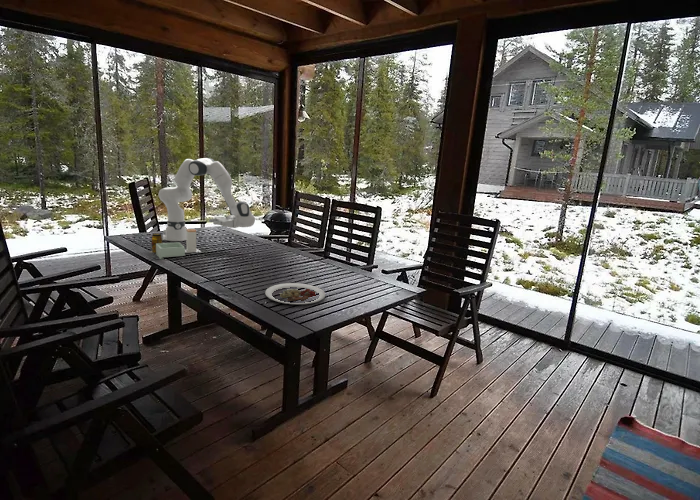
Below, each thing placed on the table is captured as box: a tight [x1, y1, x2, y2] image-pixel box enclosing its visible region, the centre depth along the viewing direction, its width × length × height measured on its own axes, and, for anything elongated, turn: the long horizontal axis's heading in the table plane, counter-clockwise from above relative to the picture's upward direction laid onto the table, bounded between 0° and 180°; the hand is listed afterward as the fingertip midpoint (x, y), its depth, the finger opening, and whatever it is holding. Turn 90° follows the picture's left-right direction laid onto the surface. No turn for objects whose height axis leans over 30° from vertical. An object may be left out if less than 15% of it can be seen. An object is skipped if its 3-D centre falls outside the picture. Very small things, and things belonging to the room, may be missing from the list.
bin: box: [155, 241, 186, 260], centre depth 245 cm, size 14×14×7 cm
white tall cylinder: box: [185, 228, 197, 253], centre depth 256 cm, size 5×5×14 cm
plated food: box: [264, 282, 326, 305], centre depth 196 cm, size 30×30×3 cm
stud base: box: [185, 247, 202, 254], centre depth 257 cm, size 10×10×8 cm
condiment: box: [150, 232, 163, 254], centre depth 252 cm, size 7×8×12 cm
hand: (211, 221), depth 261 cm, fingers open, 8 cm apart
